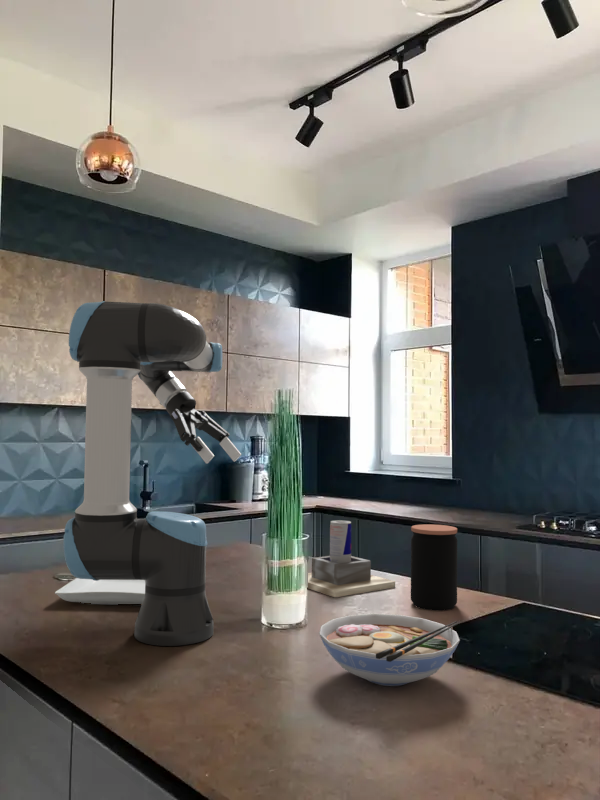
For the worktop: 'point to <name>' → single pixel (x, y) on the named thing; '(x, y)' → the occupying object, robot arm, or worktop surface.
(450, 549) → the coffee jar
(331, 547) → the beverage can
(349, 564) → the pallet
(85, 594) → the square plate
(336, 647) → the ramen bowl
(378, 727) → the worktop surface
